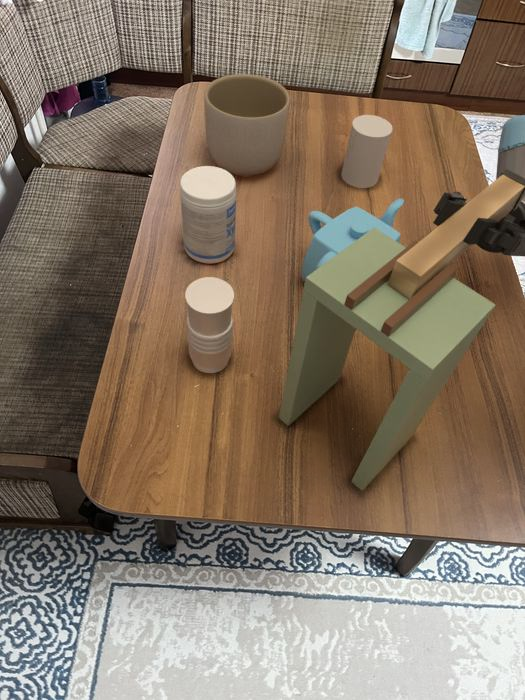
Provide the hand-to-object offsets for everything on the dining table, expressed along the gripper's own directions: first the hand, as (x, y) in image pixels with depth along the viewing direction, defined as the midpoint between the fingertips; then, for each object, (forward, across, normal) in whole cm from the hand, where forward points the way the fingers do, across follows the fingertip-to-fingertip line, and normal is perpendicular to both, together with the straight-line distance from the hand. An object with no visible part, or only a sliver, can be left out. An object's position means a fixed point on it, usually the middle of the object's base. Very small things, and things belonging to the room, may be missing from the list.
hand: (458, 222), depth 56 cm
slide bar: (-5, 0, -3) cm, 5 cm away
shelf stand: (-10, 0, -34) cm, 35 cm away
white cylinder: (-54, +37, -9) cm, 66 cm away
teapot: (-32, +19, -22) cm, 43 cm away
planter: (-40, +57, -17) cm, 72 cm away
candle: (-5, +23, -37) cm, 44 cm away
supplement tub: (-20, +42, -29) cm, 55 cm away
